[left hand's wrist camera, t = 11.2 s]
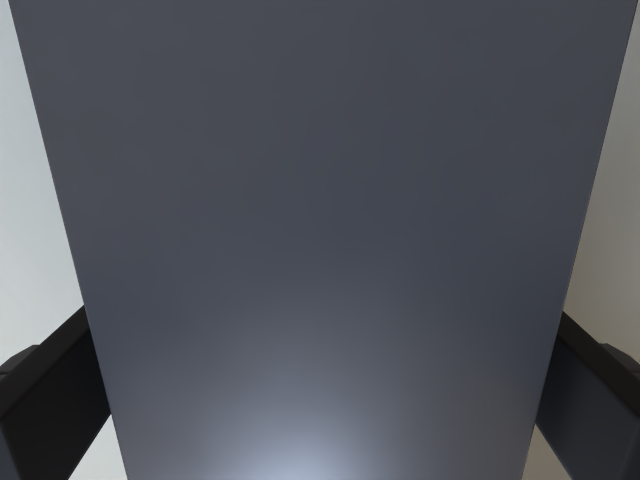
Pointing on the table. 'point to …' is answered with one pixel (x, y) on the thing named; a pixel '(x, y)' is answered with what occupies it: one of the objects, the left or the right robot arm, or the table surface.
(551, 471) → the table surface
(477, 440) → the dark grey rectangular bar
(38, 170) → the table surface
